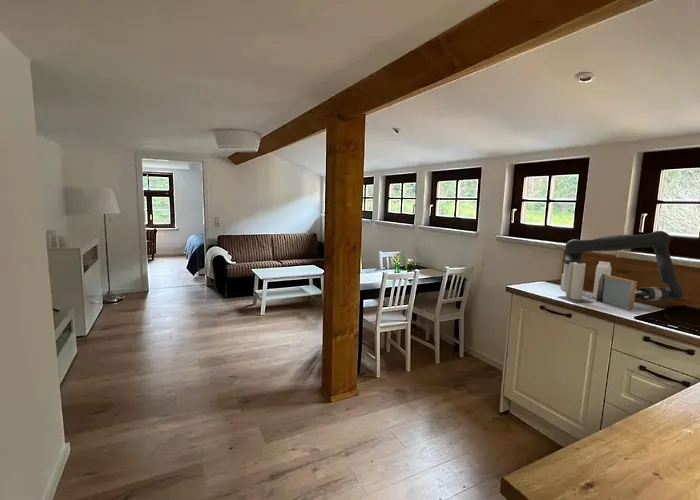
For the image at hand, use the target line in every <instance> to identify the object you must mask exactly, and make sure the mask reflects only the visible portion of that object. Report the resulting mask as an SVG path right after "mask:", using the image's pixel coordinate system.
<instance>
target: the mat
mask: <svg viewBox="0 0 700 500" xmlns="http://www.w3.org/2000/svg"><path fill="white" fill-rule="evenodd" d="M557 298H559V299H561V300H563V301H564V300H565V301H568V302H570V303H573V304H587V303H594V301H593V300H590V299H588V298H587V299H586V298H583V297H582V300H574V299H570V297H566V295H564V296H557Z"/></svg>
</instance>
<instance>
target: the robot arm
mask: <svg viewBox="0 0 700 500" xmlns="http://www.w3.org/2000/svg"><path fill="white" fill-rule="evenodd" d="M670 242H671V236H670V234H669V233H668V232H666V231H662V230H655V231H653V232H649V233H645V234H617V235H607V236H601V237H596V238H593V239H576V238H574V239H570V240H568V241H567V242H566V244H565V255H564V256H565V257H564V263H563V273H562V274H561V279H560V288H559V289H560V290H562V291H565V292H566V290H567V281H568V272H569V263H570V262H572V263H573V262H575V263H582V260H583V253H588V252H614V251H625V250H631V249H633V250H634V249H638V248H652V249H653V251H654V253H655V258H656V263H657V269H658V274H659V278H660V281H661V283H663V284H667V285H668V286H661V287H660V286H642V287H639V288H638V289H636V293H635V299H639V300H640V301H643V302H647V301H648V302H649V301H650V302H651V301H658V300H659V301H661V300H662V301H663V300H682V299H683V297H684V296H685V291H684V289H683V287H682V285H681V284H680V282H679V280H678V279H677V278H678V277H677V276H676V275H677V274H676V270H675V267H674V263H673V260H672V258H671V254H670V249H669V247H670V246H669V244H670Z"/></svg>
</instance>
